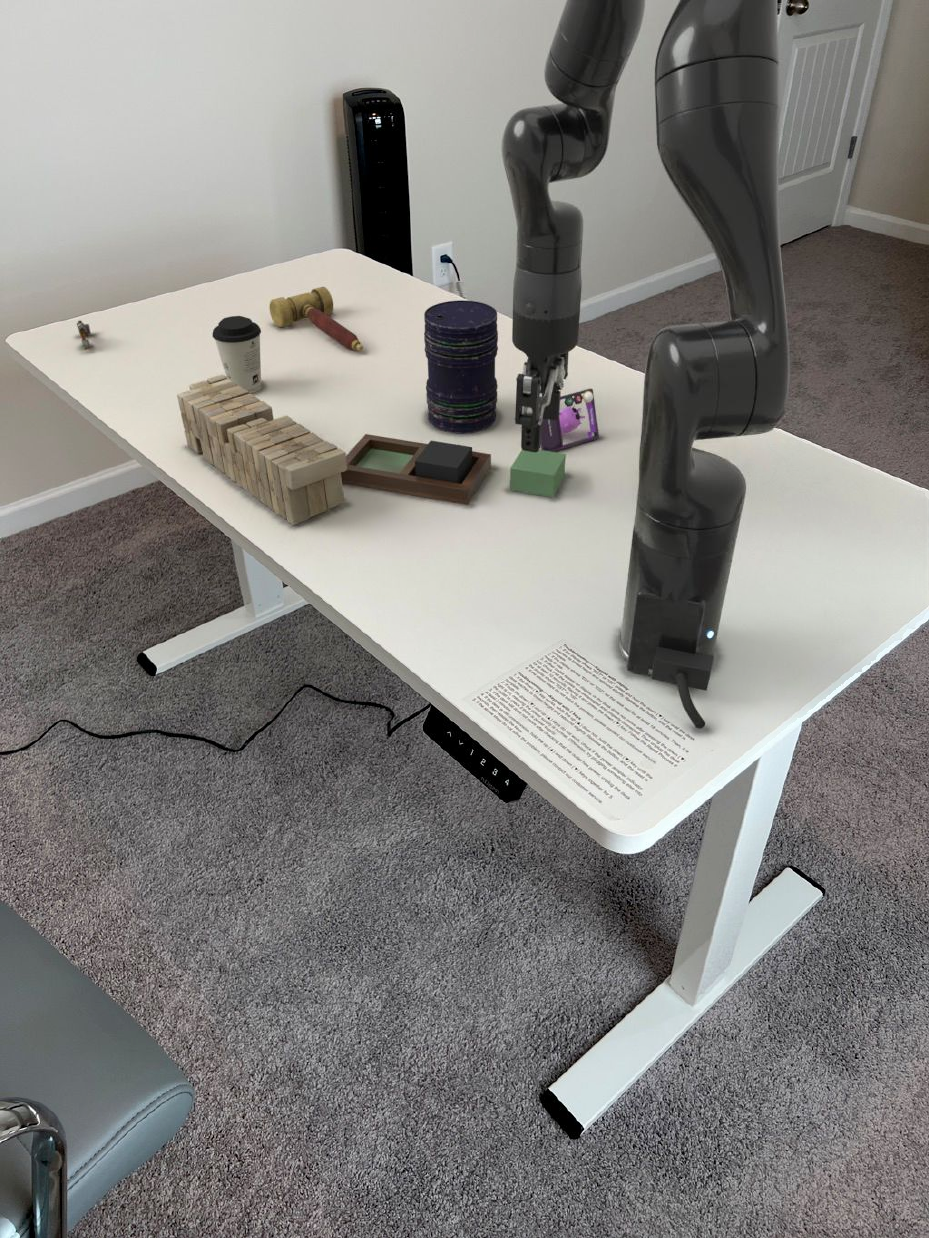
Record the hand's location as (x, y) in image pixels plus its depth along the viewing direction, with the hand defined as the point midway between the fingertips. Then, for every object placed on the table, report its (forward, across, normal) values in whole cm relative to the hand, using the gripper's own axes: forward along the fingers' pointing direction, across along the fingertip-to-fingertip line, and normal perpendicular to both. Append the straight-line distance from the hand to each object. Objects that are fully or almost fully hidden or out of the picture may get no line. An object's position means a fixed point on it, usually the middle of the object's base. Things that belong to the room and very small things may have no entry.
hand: (540, 433), depth 117 cm
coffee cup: (+7, +12, +49) cm, 51 cm away
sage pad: (+7, 0, 0) cm, 7 cm away
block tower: (+7, -9, +34) cm, 36 cm away
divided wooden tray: (+7, -4, +16) cm, 17 cm away
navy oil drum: (+7, +14, +15) cm, 21 cm away
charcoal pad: (+6, -4, +11) cm, 13 cm away
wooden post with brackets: (+8, +19, +82) cm, 85 cm away
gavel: (+8, +34, +46) cm, 58 cm away
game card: (+7, +12, 0) cm, 14 cm away
